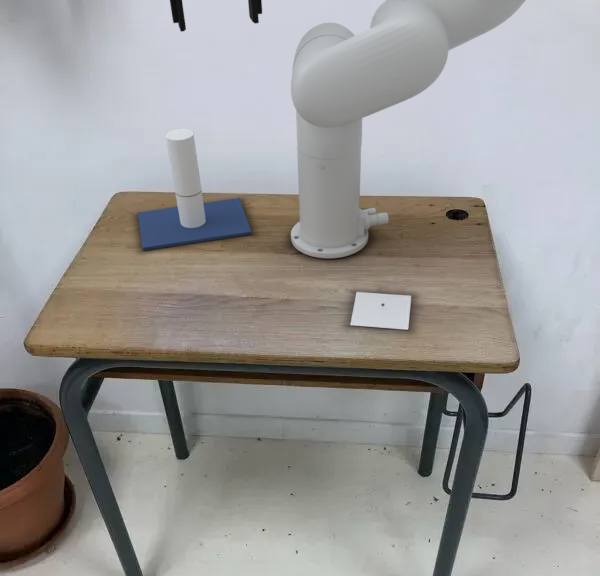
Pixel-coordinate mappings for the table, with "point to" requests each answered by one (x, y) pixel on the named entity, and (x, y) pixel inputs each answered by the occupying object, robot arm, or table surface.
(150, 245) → the cloth mat
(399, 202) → the table surface
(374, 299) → the white piece
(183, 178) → the tube
